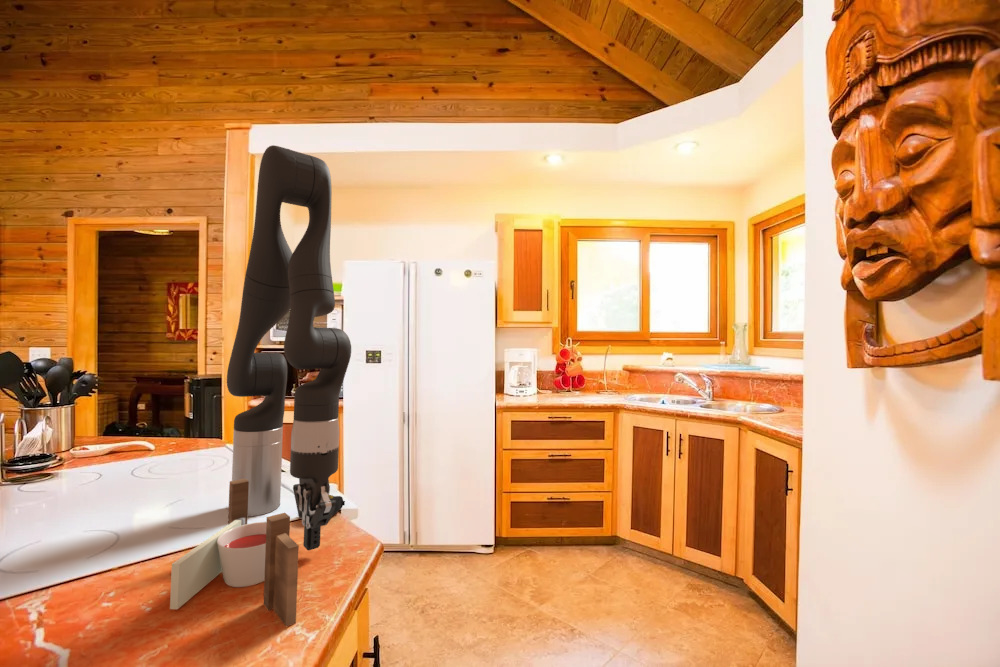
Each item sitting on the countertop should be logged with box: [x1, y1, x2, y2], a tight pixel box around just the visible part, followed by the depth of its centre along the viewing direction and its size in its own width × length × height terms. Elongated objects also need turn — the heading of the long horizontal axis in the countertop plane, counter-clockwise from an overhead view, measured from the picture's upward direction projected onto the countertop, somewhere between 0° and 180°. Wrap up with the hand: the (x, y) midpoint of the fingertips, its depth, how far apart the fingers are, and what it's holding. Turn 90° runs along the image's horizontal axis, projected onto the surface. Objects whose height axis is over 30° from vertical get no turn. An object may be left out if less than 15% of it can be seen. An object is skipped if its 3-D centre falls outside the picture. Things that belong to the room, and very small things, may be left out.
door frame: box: [227, 479, 300, 627], centre depth 65 cm, size 26×2×12 cm, turn 45°
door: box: [169, 518, 245, 610], centre depth 65 cm, size 15×3×6 cm, turn 0°
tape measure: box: [328, 494, 346, 518], centre depth 89 cm, size 7×7×4 cm
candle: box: [217, 521, 267, 588], centre depth 67 cm, size 9×9×6 cm
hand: (311, 547), depth 73 cm, fingers closed
